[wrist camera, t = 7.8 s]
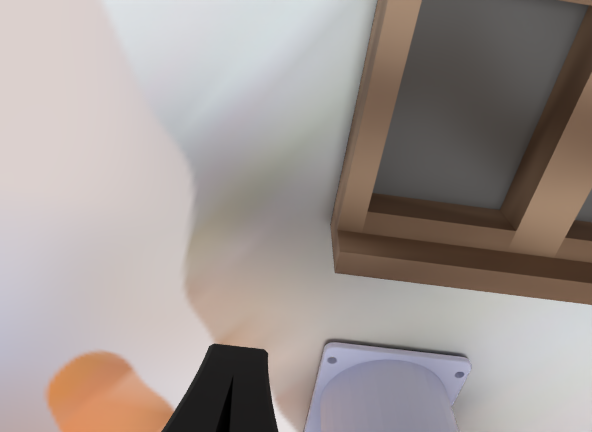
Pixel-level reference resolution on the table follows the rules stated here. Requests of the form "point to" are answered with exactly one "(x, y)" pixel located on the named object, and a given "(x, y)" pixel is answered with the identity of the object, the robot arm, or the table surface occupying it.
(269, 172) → the table surface
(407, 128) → the wooden frame
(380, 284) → the table surface
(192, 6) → the table surface
